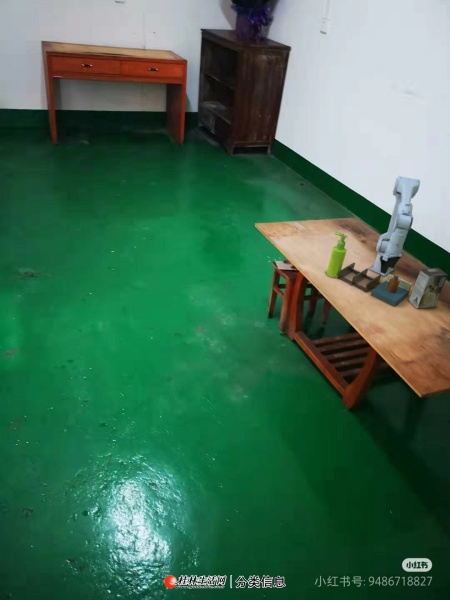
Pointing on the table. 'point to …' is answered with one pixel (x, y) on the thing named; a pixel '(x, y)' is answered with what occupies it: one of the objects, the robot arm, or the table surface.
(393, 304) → the sill
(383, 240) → the robot arm
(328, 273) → the soap dispenser
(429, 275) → the coffee box
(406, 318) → the table surface
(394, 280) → the bottle
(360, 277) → the shelf rack
